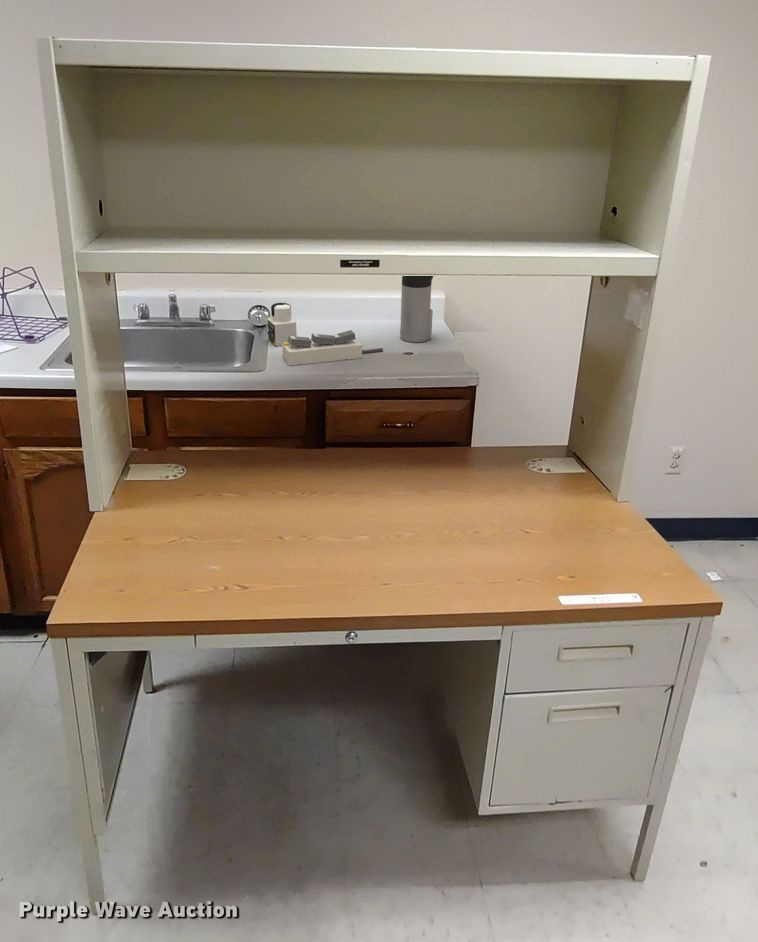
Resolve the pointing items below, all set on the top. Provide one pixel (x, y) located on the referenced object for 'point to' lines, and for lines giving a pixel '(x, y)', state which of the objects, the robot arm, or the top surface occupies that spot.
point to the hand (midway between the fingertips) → (320, 272)
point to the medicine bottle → (280, 324)
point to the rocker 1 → (299, 341)
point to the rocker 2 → (344, 337)
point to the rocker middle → (323, 339)
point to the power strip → (323, 352)
